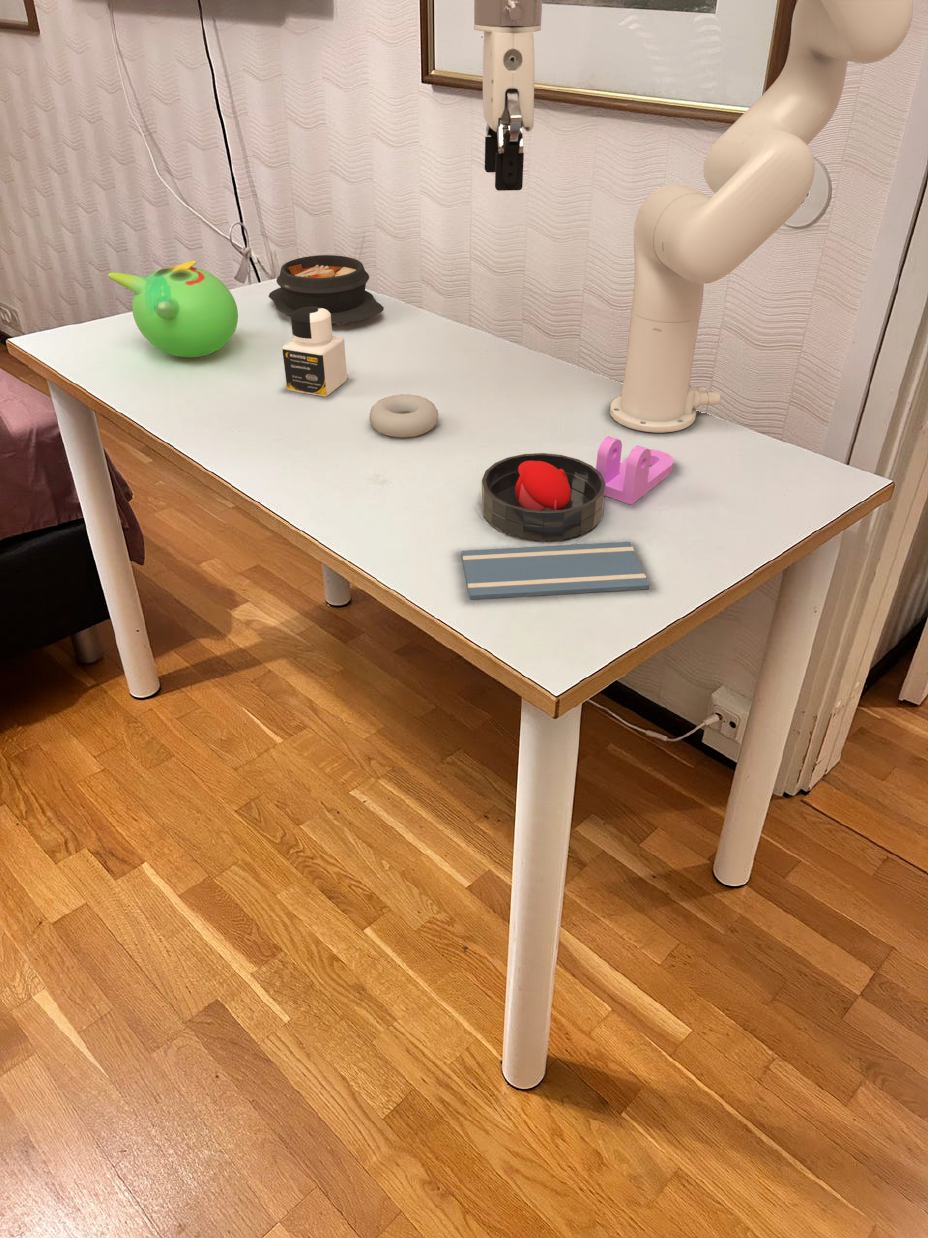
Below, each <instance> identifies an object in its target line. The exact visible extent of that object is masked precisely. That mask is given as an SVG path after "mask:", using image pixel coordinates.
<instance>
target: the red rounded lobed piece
mask: <svg viewBox="0 0 928 1238" xmlns="http://www.w3.org/2000/svg"><path fill="white" fill-rule="evenodd" d="M518 472H519V474H520V477H519V479H518V481H517V483H516V487H515V494H516V498H517V501H518V503H519V504H520V505H521V506H522V507H523V508H524V509H531V510H540V511H544V510H545V509H546V508H550V509H554V510H563V508H564V507H566V506H567V505H568V504H569V502H570V499H571V489H570V485H569V483H568V478H567V475H566V474H565V472H564V470H563V469H559V470H558V469H557V468H556V467H554V466H553V465H551V464H549V463H546V462H543V461H525V462H523V463H521V464H520V465H519V467H518ZM551 511H553V510H551Z"/></svg>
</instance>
